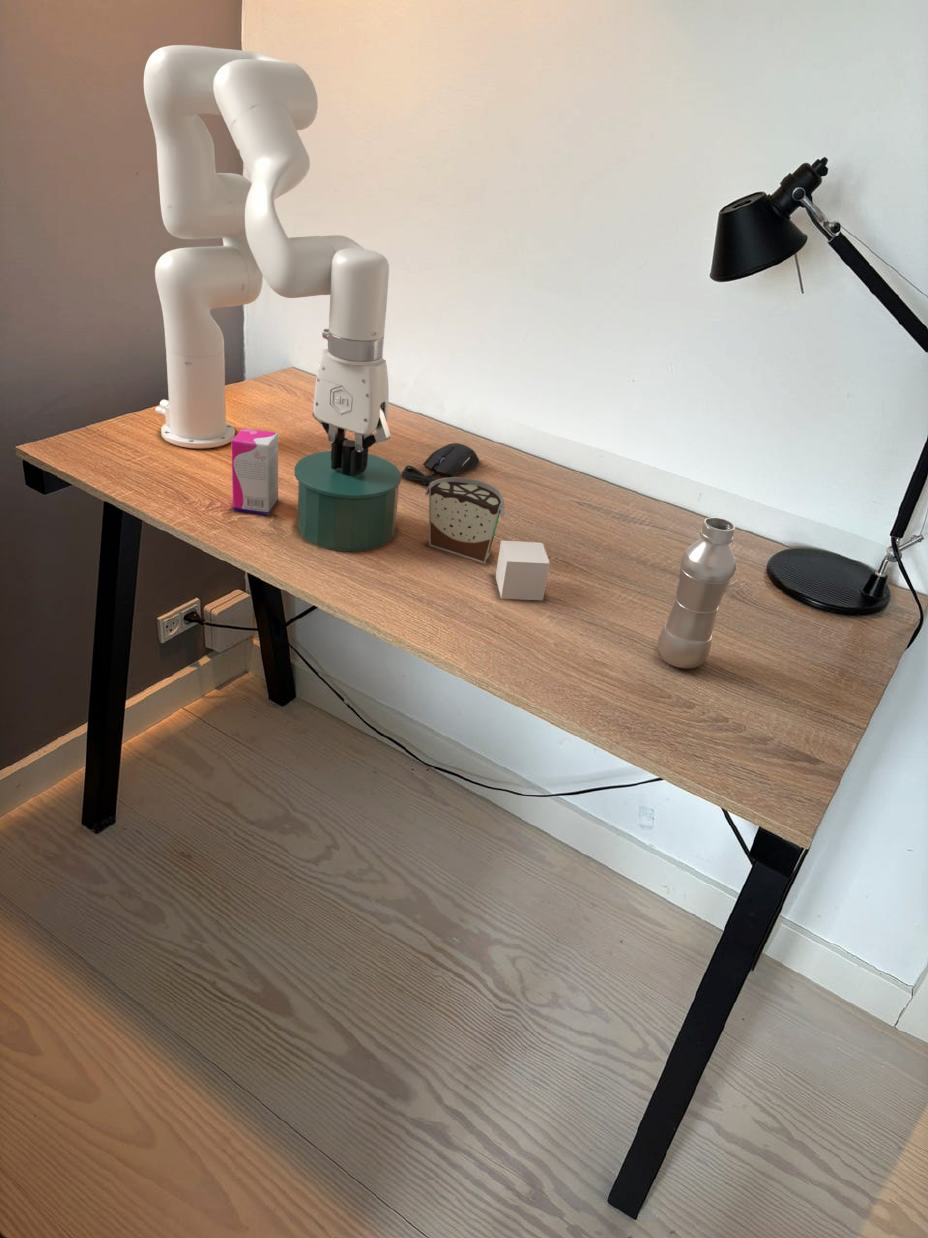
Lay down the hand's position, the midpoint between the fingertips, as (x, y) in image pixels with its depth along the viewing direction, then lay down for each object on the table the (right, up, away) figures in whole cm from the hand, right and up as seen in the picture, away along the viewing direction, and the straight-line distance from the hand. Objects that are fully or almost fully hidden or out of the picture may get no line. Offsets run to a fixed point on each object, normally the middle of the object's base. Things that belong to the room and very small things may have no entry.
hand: (348, 468), depth 138 cm
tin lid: (0, -1, +1) cm, 1 cm away
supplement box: (-15, -5, +8) cm, 18 cm away
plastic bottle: (+45, -28, -15) cm, 55 cm away
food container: (+17, -11, +5) cm, 21 cm away
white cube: (+25, -18, -4) cm, 31 cm away
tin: (-1, -8, +5) cm, 10 cm away
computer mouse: (+15, +3, +26) cm, 31 cm away
